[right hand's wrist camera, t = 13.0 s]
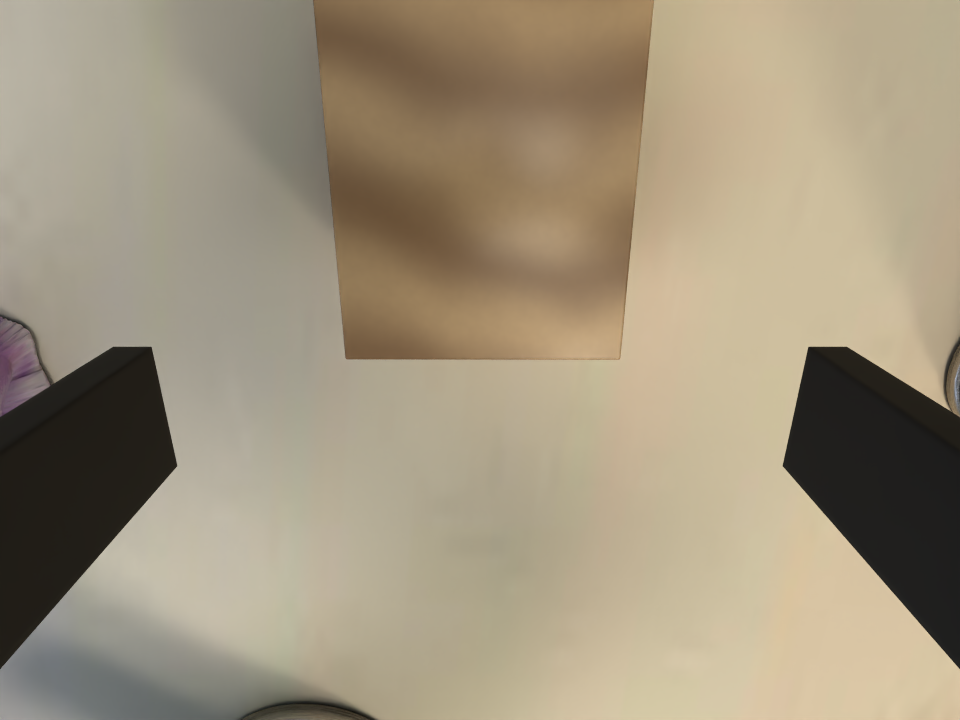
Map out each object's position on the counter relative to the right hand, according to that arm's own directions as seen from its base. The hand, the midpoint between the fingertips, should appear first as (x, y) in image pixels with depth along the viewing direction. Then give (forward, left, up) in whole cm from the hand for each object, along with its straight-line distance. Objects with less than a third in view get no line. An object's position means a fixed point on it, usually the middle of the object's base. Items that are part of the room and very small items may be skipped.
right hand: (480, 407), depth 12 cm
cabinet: (+6, -4, -20) cm, 21 cm away
